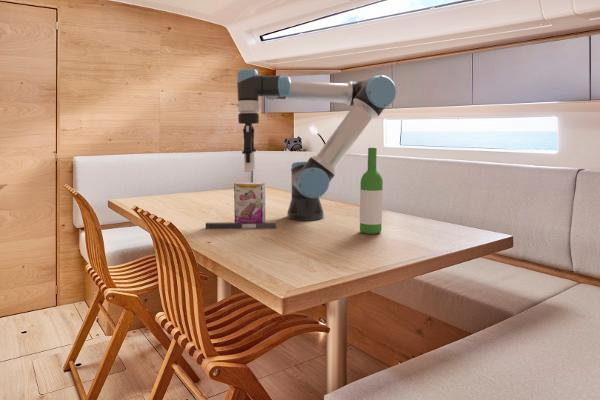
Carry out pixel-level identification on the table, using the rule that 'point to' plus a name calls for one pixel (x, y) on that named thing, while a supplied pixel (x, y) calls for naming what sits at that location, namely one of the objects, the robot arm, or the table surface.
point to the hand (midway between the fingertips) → (249, 170)
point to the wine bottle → (371, 197)
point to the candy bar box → (249, 202)
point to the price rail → (240, 225)
